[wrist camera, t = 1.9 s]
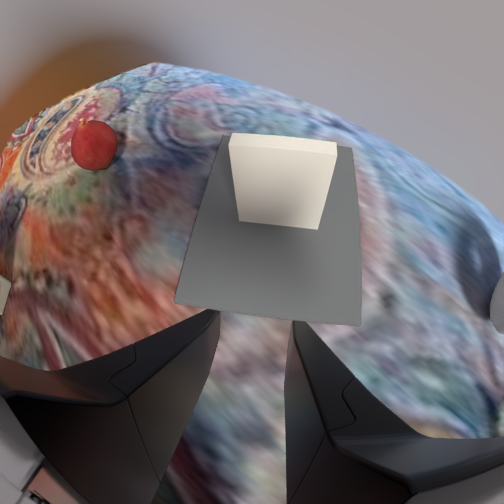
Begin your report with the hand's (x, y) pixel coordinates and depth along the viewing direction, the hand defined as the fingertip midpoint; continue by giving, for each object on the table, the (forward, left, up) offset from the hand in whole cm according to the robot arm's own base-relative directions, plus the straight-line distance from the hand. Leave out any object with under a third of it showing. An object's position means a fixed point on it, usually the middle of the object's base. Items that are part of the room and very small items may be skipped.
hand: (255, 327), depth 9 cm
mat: (+4, +13, -13) cm, 19 cm away
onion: (-16, +24, -13) cm, 31 cm away
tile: (+3, +12, -8) cm, 15 cm away
